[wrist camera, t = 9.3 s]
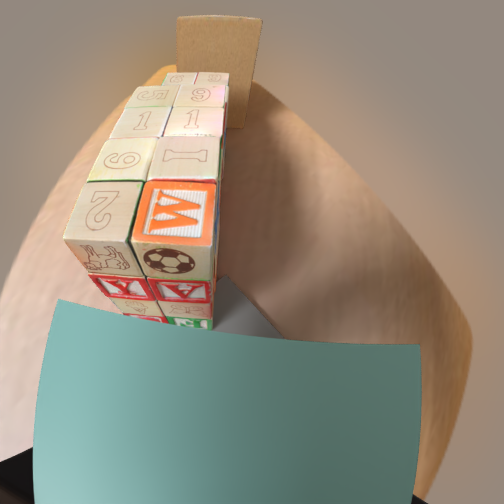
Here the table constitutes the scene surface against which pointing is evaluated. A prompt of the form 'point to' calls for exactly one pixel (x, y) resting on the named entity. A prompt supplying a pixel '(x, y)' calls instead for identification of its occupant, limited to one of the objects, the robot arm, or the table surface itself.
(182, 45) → the sandwich container
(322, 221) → the table surface
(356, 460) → the teal block
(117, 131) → the stack of blocks
